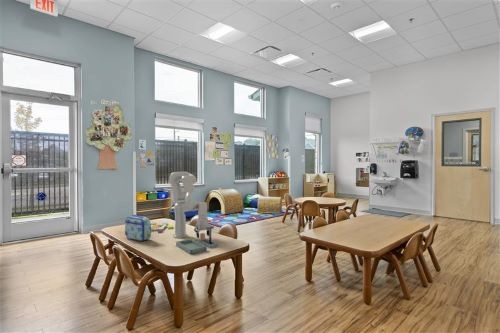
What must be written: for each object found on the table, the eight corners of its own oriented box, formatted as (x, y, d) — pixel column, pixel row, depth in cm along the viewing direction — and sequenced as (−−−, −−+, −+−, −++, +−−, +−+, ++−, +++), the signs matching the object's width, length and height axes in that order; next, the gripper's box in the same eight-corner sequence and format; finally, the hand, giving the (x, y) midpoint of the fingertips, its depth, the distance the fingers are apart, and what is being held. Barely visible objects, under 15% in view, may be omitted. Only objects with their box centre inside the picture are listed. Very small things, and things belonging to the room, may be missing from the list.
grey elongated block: (218, 246, 224) (218, 237, 224) (209, 248, 219) (209, 239, 219) (205, 240, 240) (205, 232, 240) (197, 242, 235) (197, 234, 235)
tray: (176, 245, 225) (176, 241, 225) (191, 242, 233) (191, 238, 233) (190, 254, 204) (190, 249, 204) (206, 250, 212) (206, 246, 212)
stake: (206, 245, 225) (206, 227, 225) (212, 244, 229) (212, 225, 228) (207, 246, 223) (207, 227, 223) (214, 245, 227) (214, 226, 227)
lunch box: (123, 238, 246) (123, 215, 246) (133, 235, 256) (133, 213, 255) (141, 243, 233) (141, 218, 232) (152, 239, 242) (152, 216, 241)
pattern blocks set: (138, 226, 293) (138, 223, 293) (171, 223, 305) (171, 221, 305) (138, 235, 258) (138, 232, 258) (174, 232, 270) (174, 229, 270)
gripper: (209, 214, 244) (209, 234, 244) (191, 217, 233) (191, 237, 234) (213, 216, 238) (213, 235, 238) (195, 218, 228) (195, 239, 228)
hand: (203, 236), depth 236 cm, fingers open, 9 cm apart
